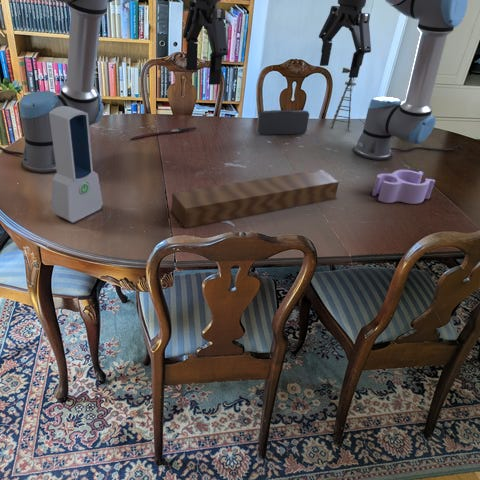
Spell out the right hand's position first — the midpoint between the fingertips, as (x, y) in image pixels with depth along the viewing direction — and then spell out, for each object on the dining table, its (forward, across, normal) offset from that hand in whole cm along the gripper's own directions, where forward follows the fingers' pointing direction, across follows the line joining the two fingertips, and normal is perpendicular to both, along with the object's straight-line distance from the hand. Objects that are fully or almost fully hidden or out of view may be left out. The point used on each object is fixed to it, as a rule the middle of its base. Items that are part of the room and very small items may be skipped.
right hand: (337, 71), depth 137 cm
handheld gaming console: (+41, -54, +22) cm, 71 cm away
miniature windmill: (+41, -54, +56) cm, 87 cm away
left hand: (0, 0, -44) cm, 44 cm away
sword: (+41, -66, -29) cm, 82 cm away
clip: (+41, +11, +29) cm, 51 cm away
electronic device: (+41, -14, -75) cm, 86 cm away
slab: (+41, 0, -22) cm, 46 cm away
